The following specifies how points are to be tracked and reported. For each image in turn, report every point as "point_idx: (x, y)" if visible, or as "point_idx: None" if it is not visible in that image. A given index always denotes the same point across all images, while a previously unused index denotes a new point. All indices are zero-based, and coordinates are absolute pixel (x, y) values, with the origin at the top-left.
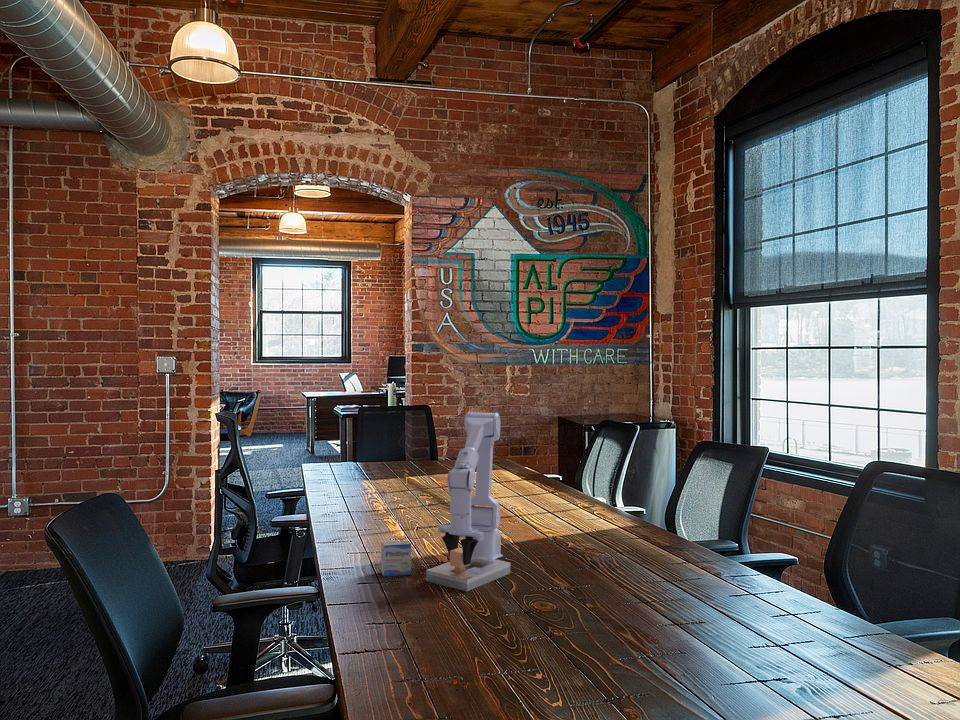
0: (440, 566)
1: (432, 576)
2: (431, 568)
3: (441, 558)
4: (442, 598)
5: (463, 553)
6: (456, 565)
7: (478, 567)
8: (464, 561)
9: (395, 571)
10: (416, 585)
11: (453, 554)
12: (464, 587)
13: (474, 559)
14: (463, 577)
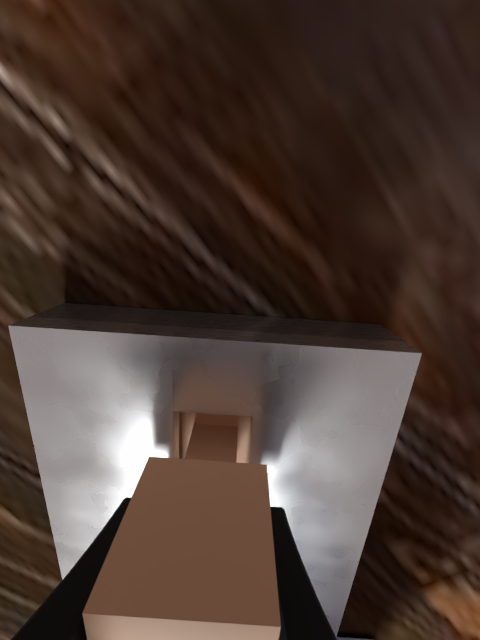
0: (363, 465)
1: (342, 334)
2: (400, 403)
3: (471, 608)
4: (81, 85)
5: (71, 621)
6: (195, 470)
7: None
8: (113, 523)
9: None
10: (395, 220)
11: (222, 576)
12: (70, 309)
13: None
14: (73, 359)
